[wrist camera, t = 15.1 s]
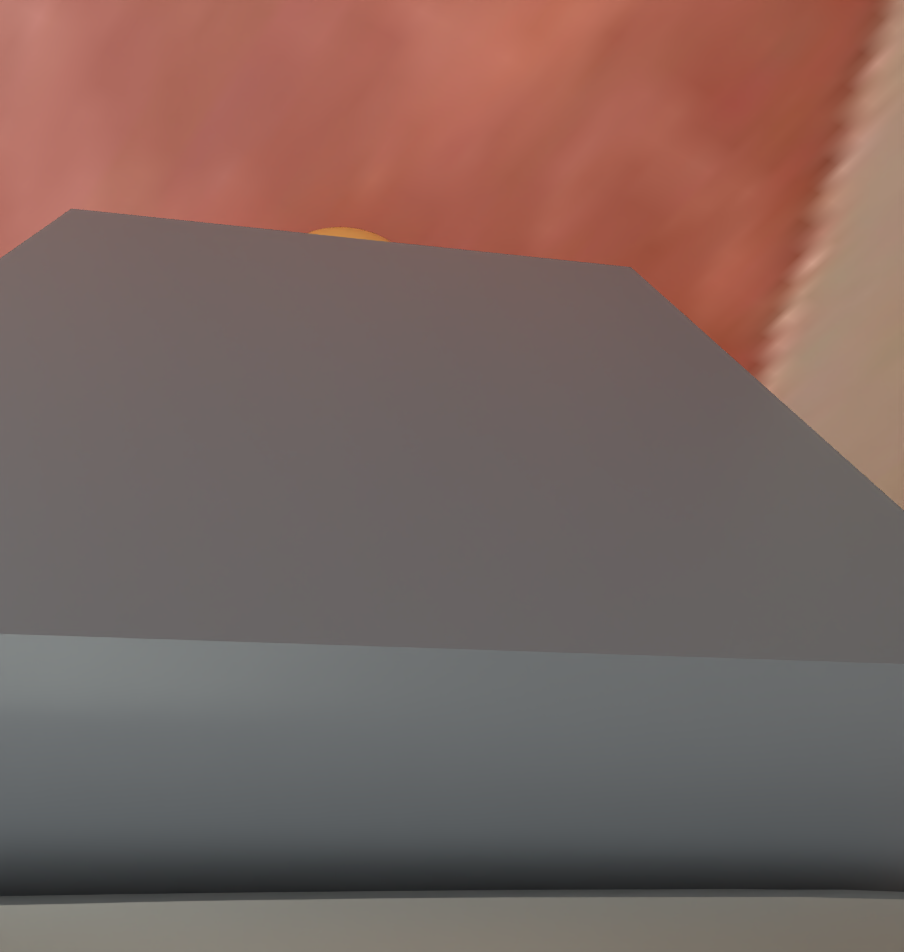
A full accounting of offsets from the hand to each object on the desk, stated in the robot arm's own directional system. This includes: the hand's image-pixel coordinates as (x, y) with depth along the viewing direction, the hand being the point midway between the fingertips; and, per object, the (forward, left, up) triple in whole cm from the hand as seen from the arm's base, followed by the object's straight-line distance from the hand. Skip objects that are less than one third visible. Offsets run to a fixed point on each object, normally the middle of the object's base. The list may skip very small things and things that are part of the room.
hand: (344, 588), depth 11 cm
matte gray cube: (0, 0, -3) cm, 3 cm away
